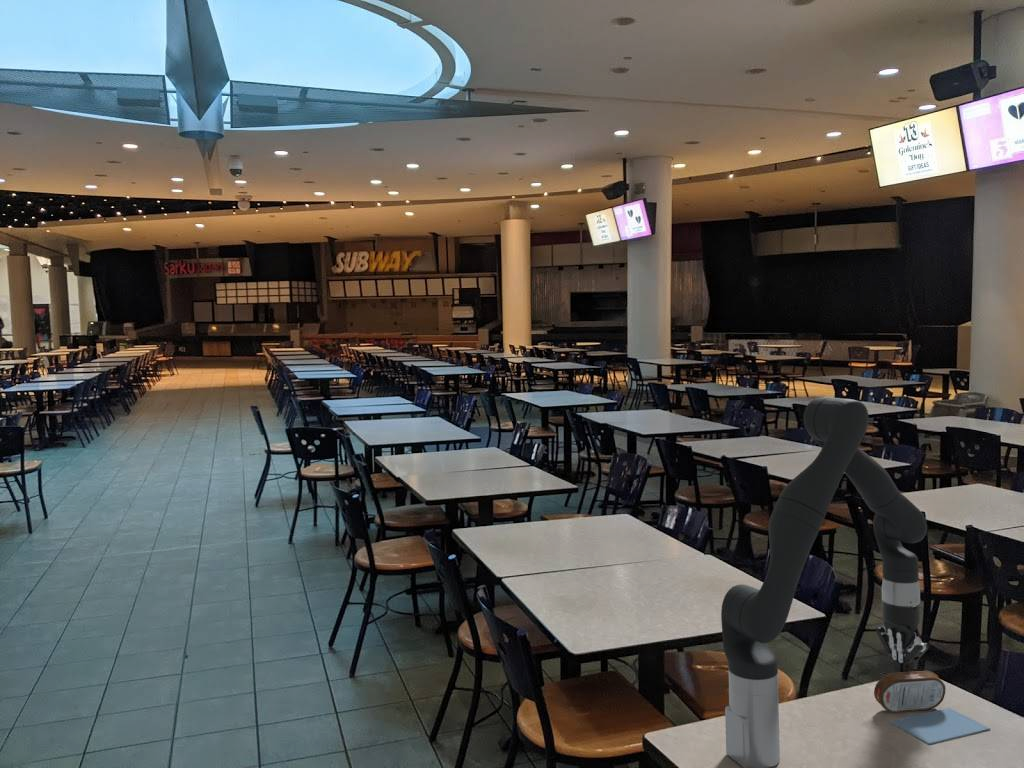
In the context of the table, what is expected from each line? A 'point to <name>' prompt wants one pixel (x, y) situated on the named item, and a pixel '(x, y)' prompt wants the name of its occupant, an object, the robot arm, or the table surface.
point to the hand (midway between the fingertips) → (902, 677)
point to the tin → (909, 691)
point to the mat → (939, 725)
